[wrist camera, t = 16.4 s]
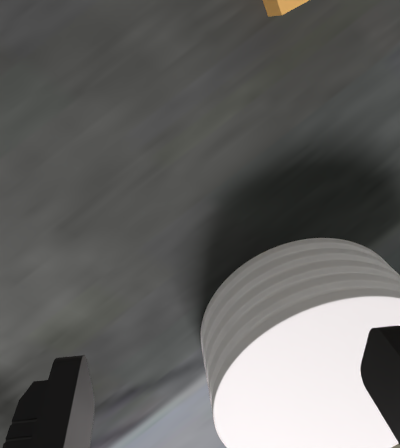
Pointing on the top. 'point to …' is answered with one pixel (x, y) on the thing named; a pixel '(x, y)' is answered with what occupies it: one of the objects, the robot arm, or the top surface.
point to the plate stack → (298, 346)
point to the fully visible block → (281, 6)
